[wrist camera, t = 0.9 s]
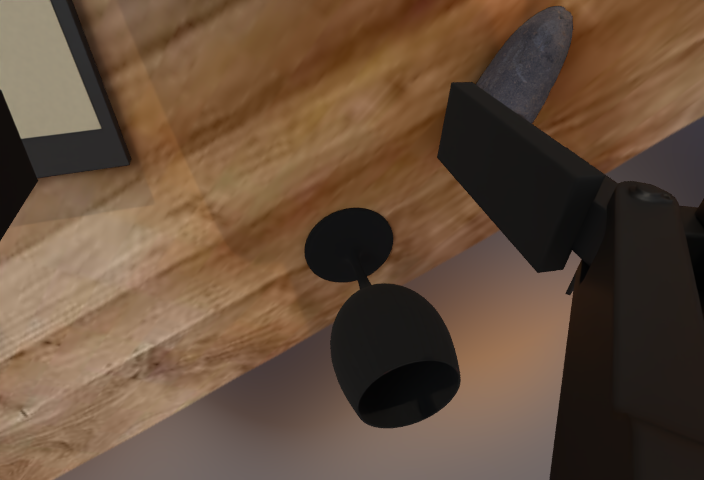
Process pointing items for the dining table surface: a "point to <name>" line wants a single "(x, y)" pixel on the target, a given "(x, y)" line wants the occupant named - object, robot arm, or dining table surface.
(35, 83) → the black board
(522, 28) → the perforated stone tool
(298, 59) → the dining table surface
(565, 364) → the robot arm
